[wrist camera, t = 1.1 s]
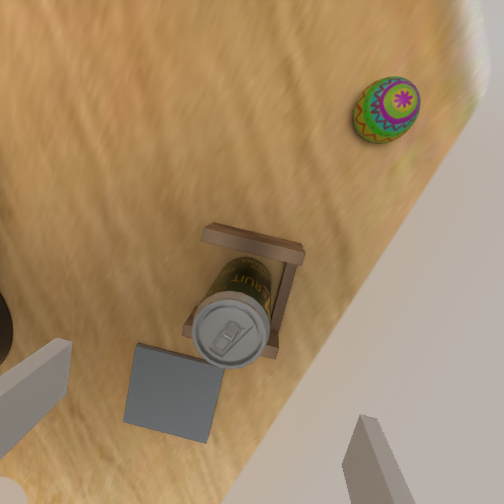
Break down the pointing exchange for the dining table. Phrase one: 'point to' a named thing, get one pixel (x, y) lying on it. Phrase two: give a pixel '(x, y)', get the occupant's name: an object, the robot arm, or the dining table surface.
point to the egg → (386, 109)
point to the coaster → (172, 393)
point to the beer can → (234, 315)
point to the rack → (266, 248)
